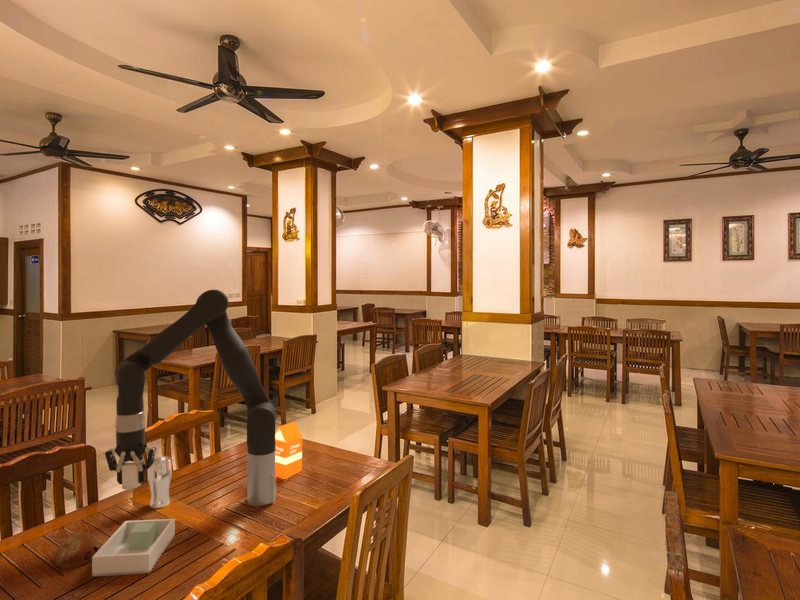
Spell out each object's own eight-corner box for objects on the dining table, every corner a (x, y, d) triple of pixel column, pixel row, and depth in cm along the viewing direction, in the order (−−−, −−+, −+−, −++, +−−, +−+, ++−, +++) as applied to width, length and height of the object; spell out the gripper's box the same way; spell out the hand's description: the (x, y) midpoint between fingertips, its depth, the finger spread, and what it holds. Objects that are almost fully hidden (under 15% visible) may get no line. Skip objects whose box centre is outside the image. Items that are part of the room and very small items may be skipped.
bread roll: (78, 559, 127) (65, 534, 127) (113, 543, 128) (100, 518, 127) (54, 582, 117) (40, 555, 117) (92, 564, 118) (78, 538, 117)
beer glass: (161, 510, 148) (161, 465, 147) (143, 507, 149) (143, 462, 149) (176, 500, 155) (176, 457, 154) (158, 498, 156) (158, 455, 156)
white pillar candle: (144, 481, 140) (143, 459, 140) (136, 489, 135) (136, 465, 135) (126, 482, 139) (126, 460, 139) (118, 489, 134) (118, 466, 134)
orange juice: (302, 472, 179) (302, 422, 179) (285, 480, 172) (285, 428, 171) (288, 468, 183) (288, 419, 183) (271, 475, 176) (271, 424, 175)
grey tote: (174, 535, 133) (174, 518, 133) (149, 573, 116) (149, 554, 116) (125, 537, 132) (125, 520, 132) (92, 576, 114) (92, 557, 114)
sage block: (155, 539, 130) (155, 522, 130) (148, 549, 125) (148, 531, 125) (137, 540, 130) (137, 523, 129) (128, 550, 125) (128, 532, 124)
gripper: (160, 422, 141) (161, 476, 142) (111, 424, 139) (112, 478, 140) (150, 430, 134) (151, 487, 134) (98, 432, 132) (99, 489, 132)
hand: (131, 482), depth 137 cm, fingers closed on white pillar candle, 5 cm apart
